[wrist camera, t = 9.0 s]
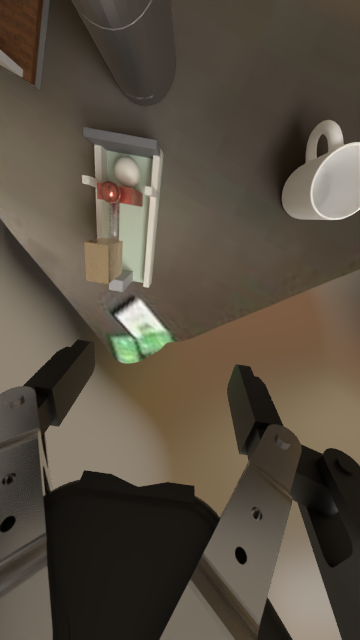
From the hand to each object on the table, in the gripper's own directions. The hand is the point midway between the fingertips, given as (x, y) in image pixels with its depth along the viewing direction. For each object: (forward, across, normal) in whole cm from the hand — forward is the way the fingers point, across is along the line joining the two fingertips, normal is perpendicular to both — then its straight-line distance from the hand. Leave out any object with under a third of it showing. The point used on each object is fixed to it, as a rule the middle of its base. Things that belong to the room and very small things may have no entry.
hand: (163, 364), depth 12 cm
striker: (+31, +11, -4) cm, 33 cm away
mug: (+33, -18, -16) cm, 41 cm away
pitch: (+33, +11, -5) cm, 35 cm away
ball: (+30, +11, -12) cm, 34 cm away
